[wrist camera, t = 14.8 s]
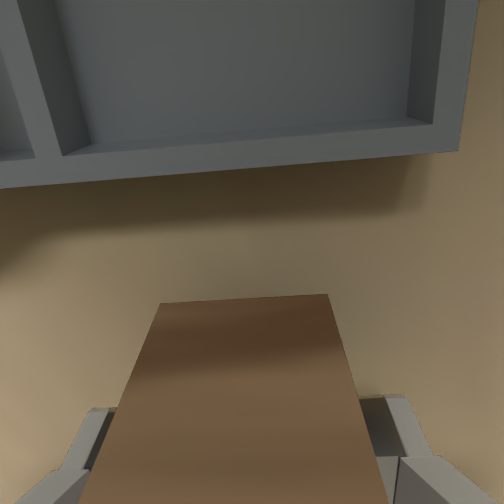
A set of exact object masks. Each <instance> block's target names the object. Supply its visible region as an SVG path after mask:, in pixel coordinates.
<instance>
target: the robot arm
mask: <svg viewBox="0 0 504 504" xmlns="http://www.w3.org/2000/svg"><path fill="white" fill-rule="evenodd" d="M358 399H359V403H360V406H361V409H362V413H363V416H364V420H365V423H366V426H367V430H368V433H369V437H370V440H371V443H372V447H373V450H374V453H375V457H376V460H377V464H378V467H379V470H380V474H381V477H382V481H383V484H384V487H385V491H386V494H387V498H388V501H389V504H499V503H498V502H497V501H495V500H494V499H493V498H492V497H490V496H489V495H488V494H487V493H486V492H484V491H483V490H482V489H481V488H479V487H478V486H477V485H476V484H475V483H473V482H472V481H471V480H470V479H468V478H467V477H466V476H465V475H464V474H462V473H461V472H460V471H459V470H457V469H456V468H455V467H454V466H453V465H451V464H450V463H449V462H448V461H446V460H445V459H444V458H443V457H442V456H434V455H433V453H432V451H431V449H430V446H429V444H428V442H427V440H426V437H425V435H424V433H423V431H422V429H421V426H420V424H419V422H418V420H417V417H416V415H415V413H414V411H413V409H412V406H411V404H410V402H409V400H408V398H407V396H406V395H405V394H389V395H368V396H358ZM116 410H117V407H112V408H92V409H91V410H90V411H89V412H88V413H87V415H86V417H85V419H84V421H83V423H82V425H81V427H80V429H79V431H78V433H77V435H76V437H75V439H74V441H73V443H72V445H71V447H70V449H69V451H68V453H67V455H66V457H65V459H64V461H63V463H62V465H61V467H60V469H59V470H56V471H52V472H51V473H49V474H48V475H47V476H46V477H45V478H44V479H42V480H41V481H40V482H39V483H38V484H37V485H35V486H34V487H33V488H32V489H31V490H30V491H28V492H27V493H26V494H25V495H24V496H22V497H21V498H20V499H19V500H18V501H17V502H15V503H14V504H78V502H79V499H80V497H81V495H82V492H83V490H84V487H85V485H86V482H87V480H88V478H89V475H90V473H91V470H92V468H93V465H94V463H95V461H96V458H97V456H98V453H99V451H100V448H101V446H102V444H103V441H104V439H105V436H106V434H107V432H108V429H109V427H110V424H111V422H112V419H113V417H114V415H115V412H116Z"/></svg>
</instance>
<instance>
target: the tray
mask: <svg viewBox="0 0 504 504" xmlns="http://www.w3.org/2000/svg"><path fill="white" fill-rule="evenodd" d="M478 3H479V0H0V189H3V188H15V187H27V186H39V185H52V184H64V183H76V182H88V181H100V180H112V179H124V178H137V177H149V176H161V175H173V174H185V173H197V172H209V171H222V170H234V169H246V168H258V167H270V166H282V165H294V164H307V163H319V162H331V161H343V160H355V159H367V158H379V157H392V156H404V155H416V154H428V153H440V152H452V151H458V148H459V140H460V133H461V126H462V119H463V111H464V104H465V97H466V90H467V82H468V75H469V68H470V61H471V54H472V46H473V39H474V32H475V25H476V17H477V10H478Z"/></svg>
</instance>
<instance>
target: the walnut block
mask: <svg viewBox="0 0 504 504" xmlns="http://www.w3.org/2000/svg"><path fill="white" fill-rule="evenodd" d="M78 504H389V501H388V498H387V494H386V491H385V487H384V484H383V481H382V477H381V474H380V470H379V467H378V464H377V460H376V457H375V453H374V450H373V447H372V443H371V440H370V437H369V433H368V430H367V426H366V423H365V420H364V416H363V413H362V409H361V406H360V403H359V399H358V396H357V392H356V389H355V386H354V382H353V379H352V376H351V372H350V369H349V365H348V362H347V359H346V355H345V352H344V348H343V345H342V342H341V338H340V335H339V331H338V328H337V325H336V321H335V318H334V315H333V311H332V308H331V304H330V301H329V298H328V294H317V295H300V296H282V297H265V298H247V299H230V300H213V301H195V302H178V303H160V306H159V308H158V310H157V313H156V315H155V318H154V320H153V322H152V325H151V327H150V330H149V332H148V335H147V337H146V339H145V342H144V344H143V347H142V349H141V352H140V354H139V356H138V359H137V361H136V364H135V366H134V369H133V371H132V373H131V376H130V378H129V381H128V383H127V385H126V388H125V390H124V393H123V395H122V398H121V400H120V402H119V405H118V407H117V410H116V412H115V415H114V417H113V419H112V422H111V424H110V427H109V429H108V432H107V434H106V436H105V439H104V441H103V444H102V446H101V448H100V451H99V453H98V456H97V458H96V461H95V463H94V465H93V468H92V470H91V473H90V475H89V478H88V480H87V482H86V485H85V487H84V490H83V492H82V495H81V497H80V499H79V502H78Z"/></svg>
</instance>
